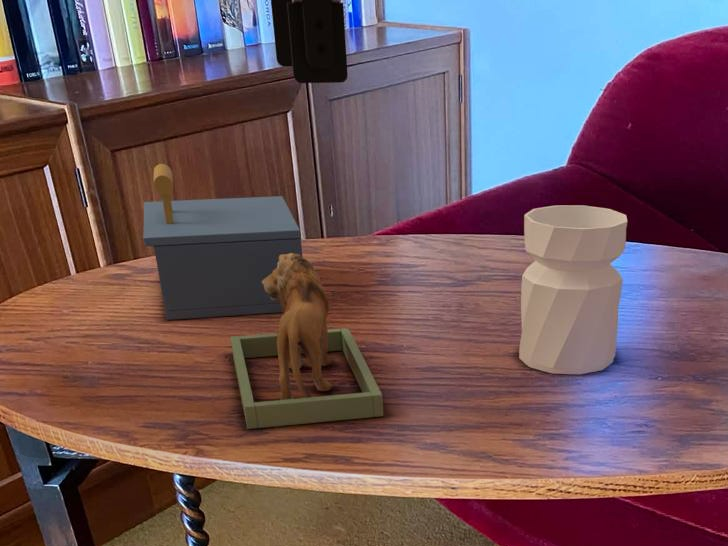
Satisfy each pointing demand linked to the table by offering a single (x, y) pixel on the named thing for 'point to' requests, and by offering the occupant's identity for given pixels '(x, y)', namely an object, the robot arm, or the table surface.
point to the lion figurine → (299, 321)
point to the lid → (213, 218)
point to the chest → (219, 277)
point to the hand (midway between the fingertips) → (310, 73)
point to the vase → (571, 288)
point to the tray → (312, 407)
